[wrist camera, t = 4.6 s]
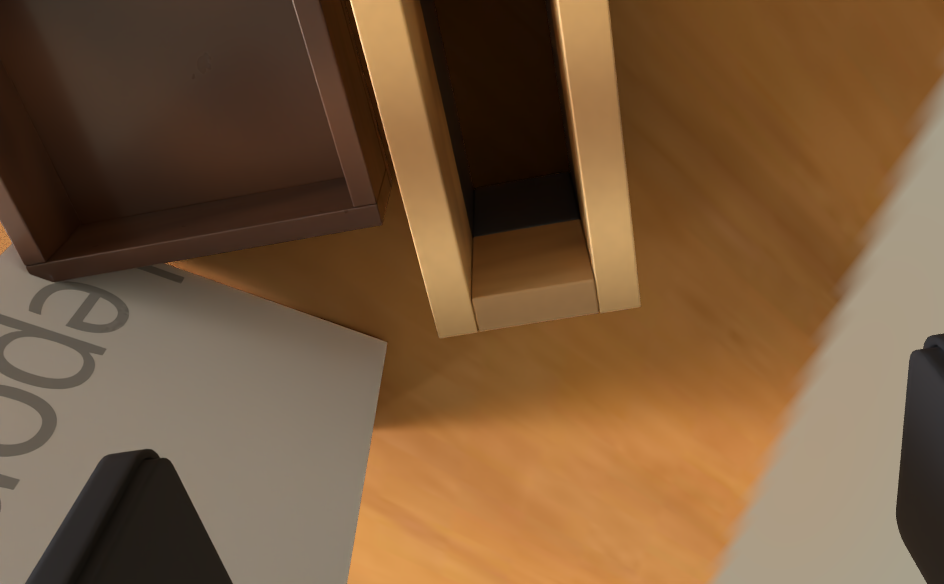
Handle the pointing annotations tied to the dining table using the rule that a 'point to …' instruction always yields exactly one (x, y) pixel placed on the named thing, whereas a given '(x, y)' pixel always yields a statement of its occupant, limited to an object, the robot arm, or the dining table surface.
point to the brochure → (185, 413)
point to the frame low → (509, 200)
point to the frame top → (441, 199)
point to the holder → (180, 130)
